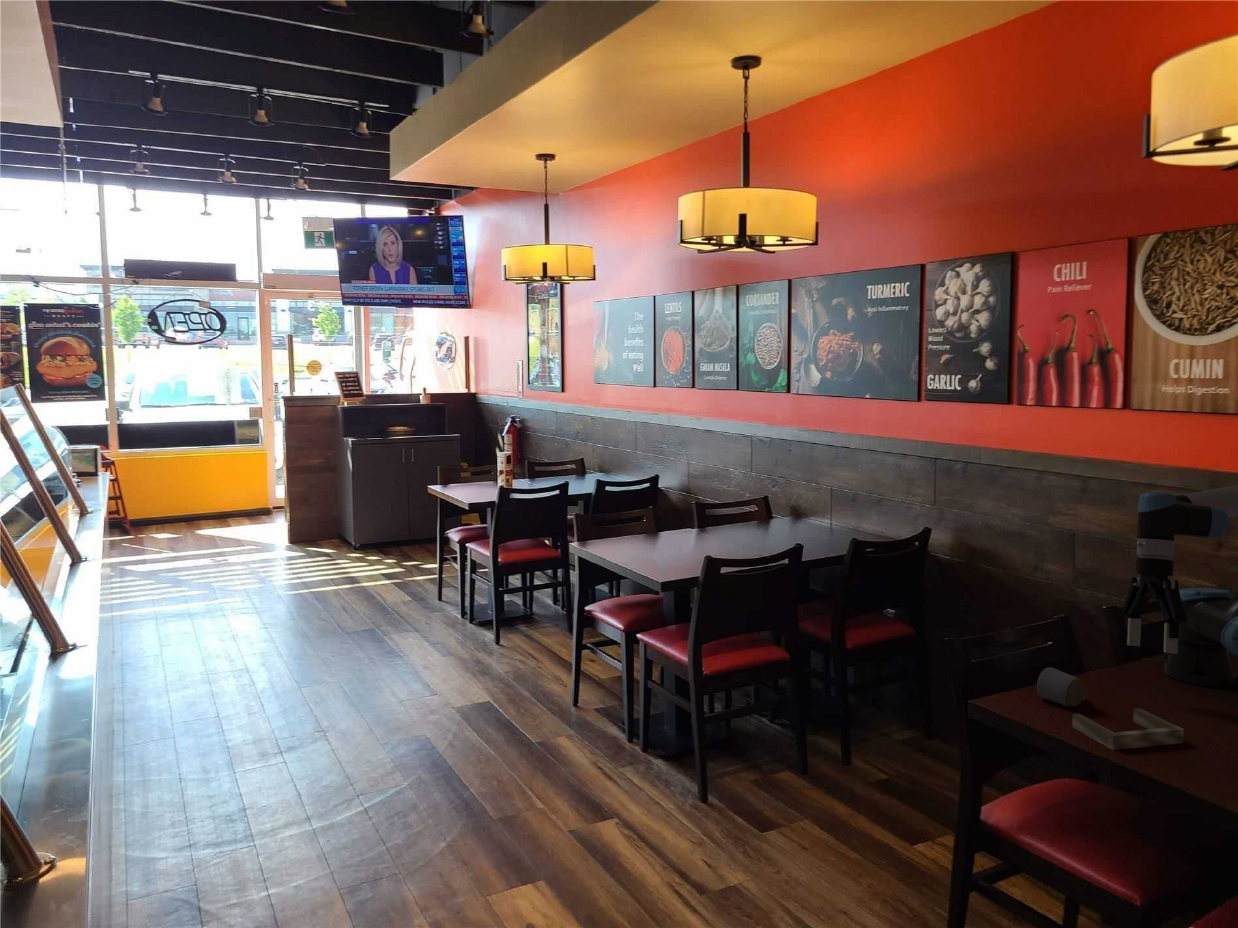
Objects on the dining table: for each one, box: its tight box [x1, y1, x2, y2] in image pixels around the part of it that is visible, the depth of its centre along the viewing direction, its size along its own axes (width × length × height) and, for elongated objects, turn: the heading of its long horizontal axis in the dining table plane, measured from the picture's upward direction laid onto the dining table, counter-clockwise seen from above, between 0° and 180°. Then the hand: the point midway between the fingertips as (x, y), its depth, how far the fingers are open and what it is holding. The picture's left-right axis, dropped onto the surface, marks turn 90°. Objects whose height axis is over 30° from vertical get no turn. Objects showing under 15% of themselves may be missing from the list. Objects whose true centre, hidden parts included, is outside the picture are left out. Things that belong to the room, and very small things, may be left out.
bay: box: [1071, 707, 1185, 751], centre depth 188 cm, size 17×12×3 cm
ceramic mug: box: [1036, 666, 1087, 708], centre depth 207 cm, size 11×8×8 cm
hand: (1151, 649), depth 204 cm, fingers open, 13 cm apart
